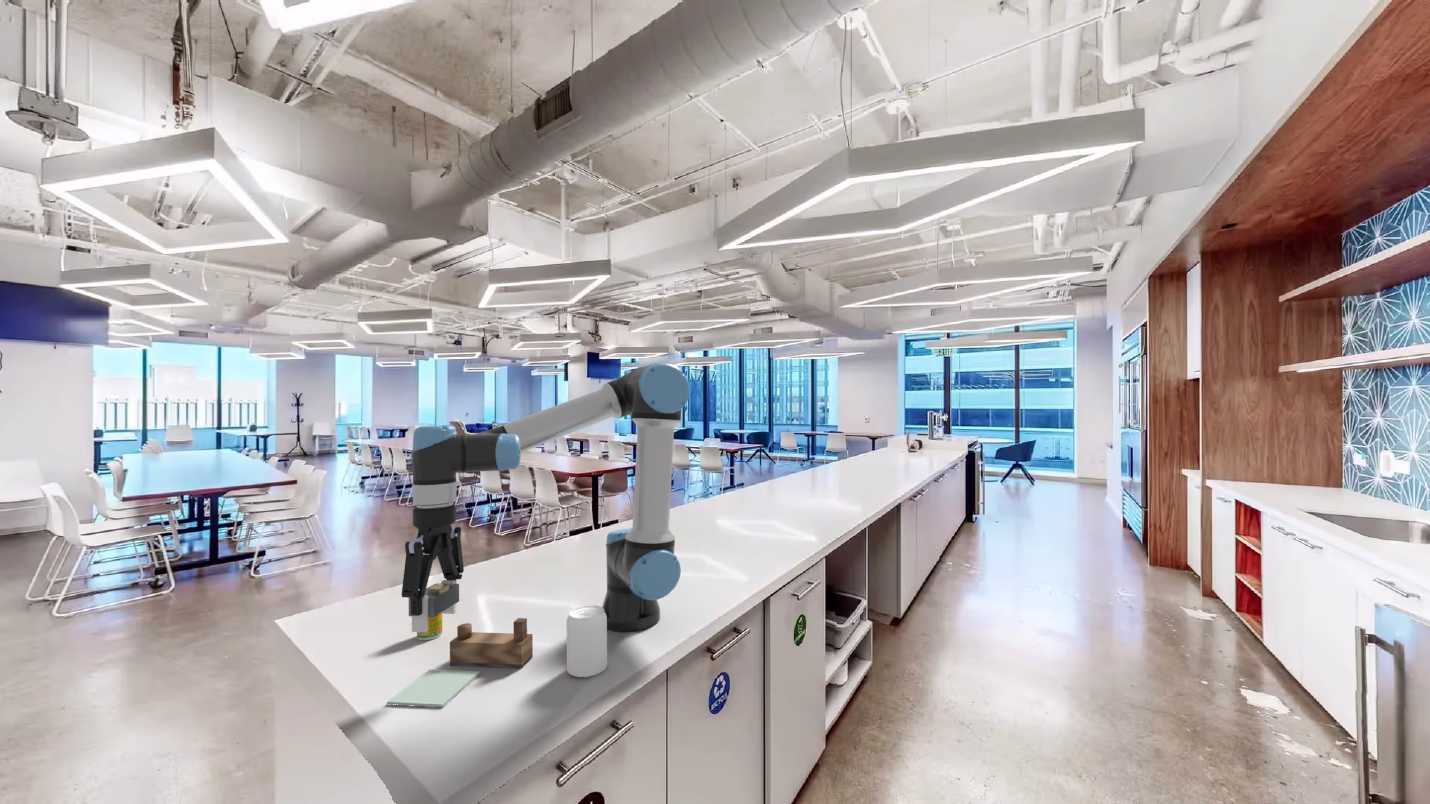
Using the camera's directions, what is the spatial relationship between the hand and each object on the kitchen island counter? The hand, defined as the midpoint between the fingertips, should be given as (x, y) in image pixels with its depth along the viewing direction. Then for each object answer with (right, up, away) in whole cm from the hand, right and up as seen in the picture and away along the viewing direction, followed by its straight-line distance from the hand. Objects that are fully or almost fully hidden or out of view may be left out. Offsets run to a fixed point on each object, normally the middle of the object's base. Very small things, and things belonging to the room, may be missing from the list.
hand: (435, 621), depth 101 cm
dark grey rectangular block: (0, +3, 0) cm, 3 cm away
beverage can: (+28, -13, +6) cm, 32 cm away
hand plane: (+6, -13, +11) cm, 18 cm away
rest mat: (0, -13, 0) cm, 13 cm away
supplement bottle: (-14, -14, +24) cm, 31 cm away
